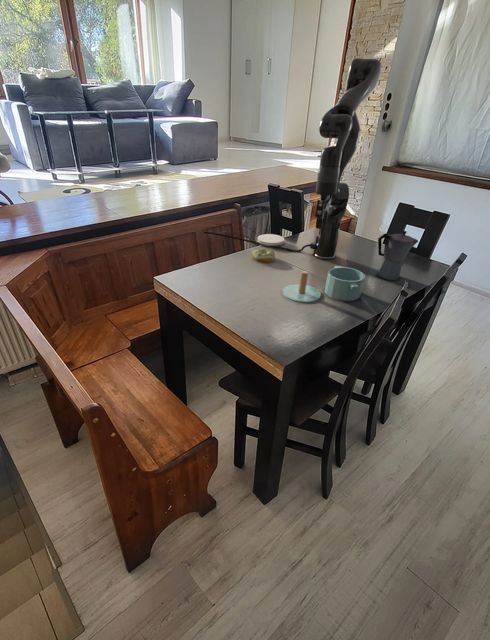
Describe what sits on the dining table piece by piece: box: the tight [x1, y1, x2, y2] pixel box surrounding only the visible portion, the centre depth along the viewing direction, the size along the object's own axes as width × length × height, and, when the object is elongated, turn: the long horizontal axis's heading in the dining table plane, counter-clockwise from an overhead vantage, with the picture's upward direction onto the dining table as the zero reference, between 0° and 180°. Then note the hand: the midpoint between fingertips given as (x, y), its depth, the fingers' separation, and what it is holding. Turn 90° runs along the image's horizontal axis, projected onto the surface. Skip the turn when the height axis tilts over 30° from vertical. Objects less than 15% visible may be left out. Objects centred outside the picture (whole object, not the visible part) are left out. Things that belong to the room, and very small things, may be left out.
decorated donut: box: [252, 248, 276, 264], centre depth 170 cm, size 10×11×4 cm
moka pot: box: [377, 230, 419, 281], centre depth 152 cm, size 10×15×20 cm, turn 78°
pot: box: [324, 265, 366, 302], centre depth 140 cm, size 14×19×8 cm
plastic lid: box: [256, 233, 285, 247], centre depth 189 cm, size 14×14×2 cm
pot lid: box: [282, 270, 322, 303], centre depth 139 cm, size 15×15×10 cm
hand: (321, 225), depth 139 cm, fingers open, 8 cm apart
